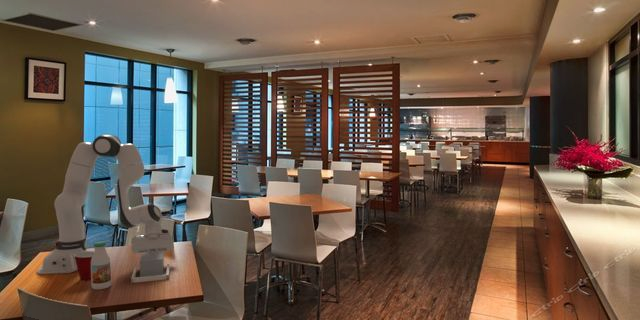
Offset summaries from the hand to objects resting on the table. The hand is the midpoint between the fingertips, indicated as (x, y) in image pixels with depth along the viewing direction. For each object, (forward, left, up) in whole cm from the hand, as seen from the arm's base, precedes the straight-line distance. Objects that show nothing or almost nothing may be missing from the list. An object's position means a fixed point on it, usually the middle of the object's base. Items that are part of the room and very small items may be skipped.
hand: (152, 258), depth 223 cm
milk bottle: (-20, -23, -5) cm, 31 cm away
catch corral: (0, -12, -4) cm, 13 cm away
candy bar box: (-43, +42, -5) cm, 60 cm away
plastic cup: (-28, -8, -5) cm, 30 cm away
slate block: (0, -8, -5) cm, 9 cm away
